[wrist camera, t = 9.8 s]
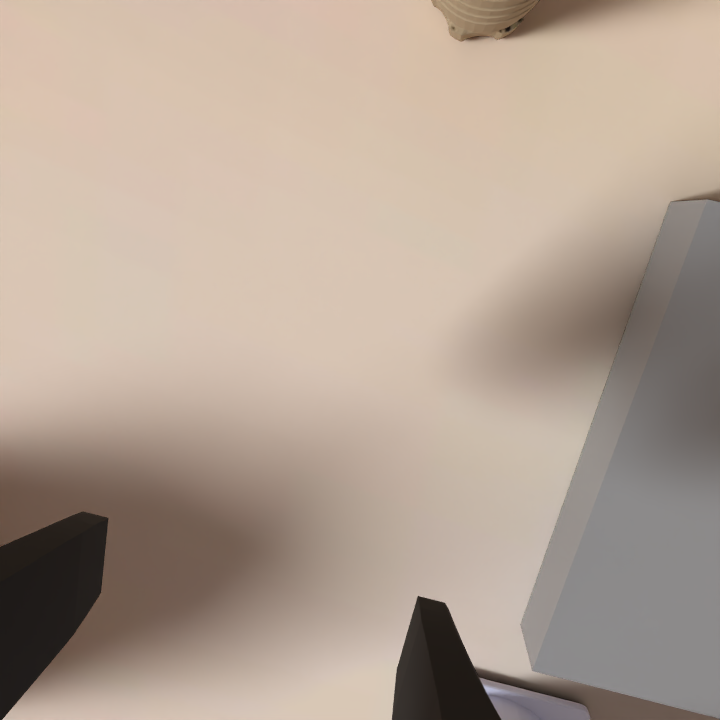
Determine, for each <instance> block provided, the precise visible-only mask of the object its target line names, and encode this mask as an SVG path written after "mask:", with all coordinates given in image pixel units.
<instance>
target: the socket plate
mask: <svg viewBox="0 0 720 720" xmlns="http://www.w3.org/2000/svg"><path fill="white" fill-rule="evenodd" d="M521 628H522V632H523V636H524V640H525V644H526V648H527V652H528V656H529V660H530V664H531V668H532V671H535V672H539V673H543V674H547V675H550V676H554V677H558V678H562V679H566V680H570V681H574V682H578V683H582V684H586V685H589V686H593V687H597V688H601V689H605V690H609V691H613V692H617V693H621V694H625V695H629V696H632V697H636V698H640V699H644V700H648V701H652V702H656V703H660V704H664V705H668V706H672V707H675V708H679V709H683V710H687V711H691V712H695V713H699V714H703V715H707V716H711V717H714V718H718V719H720V202H717V201H712V200H708V199H707V200H691V201H675V202H670V204H669V207H668V210H667V213H666V215H665V218H664V221H663V224H662V227H661V229H660V232H659V235H658V238H657V241H656V244H655V246H654V249H653V252H652V255H651V258H650V261H649V263H648V266H647V269H646V272H645V275H644V278H643V280H642V283H641V286H640V289H639V292H638V294H637V297H636V300H635V303H634V306H633V309H632V311H631V314H630V317H629V320H628V323H627V326H626V328H625V331H624V334H623V337H622V340H621V342H620V345H619V348H618V351H617V354H616V357H615V359H614V362H613V365H612V368H611V371H610V374H609V376H608V379H607V382H606V385H605V388H604V390H603V393H602V396H601V399H600V402H599V405H598V407H597V410H596V413H595V416H594V419H593V422H592V424H591V427H590V430H589V433H588V436H587V439H586V441H585V444H584V447H583V450H582V453H581V455H580V458H579V461H578V464H577V467H576V470H575V472H574V475H573V478H572V481H571V484H570V487H569V489H568V492H567V495H566V498H565V501H564V503H563V506H562V509H561V512H560V515H559V518H558V520H557V523H556V526H555V529H554V532H553V535H552V537H551V540H550V543H549V546H548V549H547V551H546V554H545V557H544V560H543V563H542V566H541V568H540V571H539V574H538V577H537V580H536V583H535V585H534V588H533V591H532V594H531V597H530V599H529V602H528V605H527V608H526V611H525V614H524V616H523V619H522V622H521Z"/></svg>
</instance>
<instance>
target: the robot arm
mask: <svg viewBox="0 0 720 720" xmlns="http://www.w3.org/2000/svg"><path fill="white" fill-rule="evenodd" d="M107 525H108V518H106V517H102V516H98V515H94V514H90V513H86V512H81V513H78V514H75V515H73V516H70V517H68V518H66V519H63V520H61V521H59V522H56V523H54V524H52V525H49V526H47V527H45V528H43V529H40V530H38V531H36V532H34V533H31V534H29V535H27V536H25V537H22V538H20V539H18V540H15V541H13V542H11V543H8V544H6V545H4V546H1V547H0V720H2V719H3V718H4V717H5V716H6V714H7V713H8V712H9V711H10V710H11V709H12V707H13V706H14V705H15V704H16V703H17V701H18V700H19V699H20V698H21V697H22V695H23V694H24V693H25V692H26V691H27V690H28V688H29V687H30V686H31V685H32V684H33V682H34V681H35V680H36V679H37V678H38V677H39V675H40V674H41V673H42V672H43V671H44V669H45V668H46V667H47V666H48V665H49V664H50V662H51V661H52V660H53V659H54V658H55V656H56V655H57V654H58V653H59V652H60V650H61V649H62V648H63V647H64V646H65V644H66V643H67V642H68V641H69V639H70V638H71V637H72V636H73V634H74V633H75V632H76V630H77V629H78V627H79V626H80V624H81V623H82V621H83V620H84V618H85V617H86V615H87V614H88V612H89V611H90V609H91V608H92V606H93V604H94V603H95V601H96V600H97V598H98V597H99V595H100V593H101V586H102V576H103V566H104V556H105V546H106V535H107ZM392 720H590V715H589V712H588V709H587V708H586V707H585V706H584V705H582V704H580V703H576V702H572V701H568V700H564V699H560V698H556V697H552V696H549V695H545V694H541V693H537V692H533V691H529V690H525V689H521V688H518V687H514V686H510V685H506V684H502V683H498V682H494V681H490V680H486V679H483V678H479V676H478V674H477V672H476V670H475V668H474V666H473V664H472V662H471V660H470V658H469V656H468V654H467V651H466V649H465V647H464V645H463V643H462V640H461V638H460V636H459V633H458V631H457V629H456V626H455V624H454V621H453V619H452V617H451V614H450V612H449V609H448V607H447V606H446V604H445V603H443V602H439V601H435V600H431V599H427V598H423V597H419V596H418V598H417V601H416V605H415V608H414V612H413V615H412V619H411V622H410V625H409V629H408V632H407V636H406V639H405V643H404V646H403V650H402V653H401V657H400V660H399V664H398V667H397V673H396V683H395V693H394V704H393V715H392Z"/></svg>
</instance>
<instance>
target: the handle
mask: <svg viewBox="0 0 720 720" xmlns="http://www.w3.org/2000/svg"><path fill="white" fill-rule="evenodd" d="M431 1H432V3H433V5H434V7H437V8H438V9H439V10H441V11H442V13H443V14H444V16H445V18H446V20H447V22H448V26H449V33H450V35H451V36H452V37H453V38H455V39H457V40H459V41H464V40H465V39H467V38H470V37H474V36H491V37H494V38H495V39H497V40H498V39H501V38H503V37H505V36H507V35H508V34H510V33H511V32H512V31H514V30H515V29H516V28H517V27H518V25H519V24H520V23H521V22H522V20H523V16H524V15H526V14H527V13H528V12H529V11H530V10H531V9H532V8H533V7H534V6H535V5H536V4H537V3H538V2H539V1H540V0H431Z"/></svg>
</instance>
